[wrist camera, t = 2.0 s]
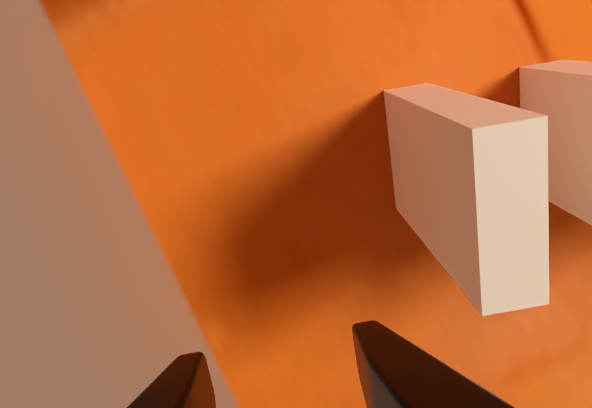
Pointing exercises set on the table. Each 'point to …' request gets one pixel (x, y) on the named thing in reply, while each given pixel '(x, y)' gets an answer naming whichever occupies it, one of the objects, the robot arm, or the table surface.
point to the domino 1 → (474, 191)
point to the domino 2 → (564, 129)
